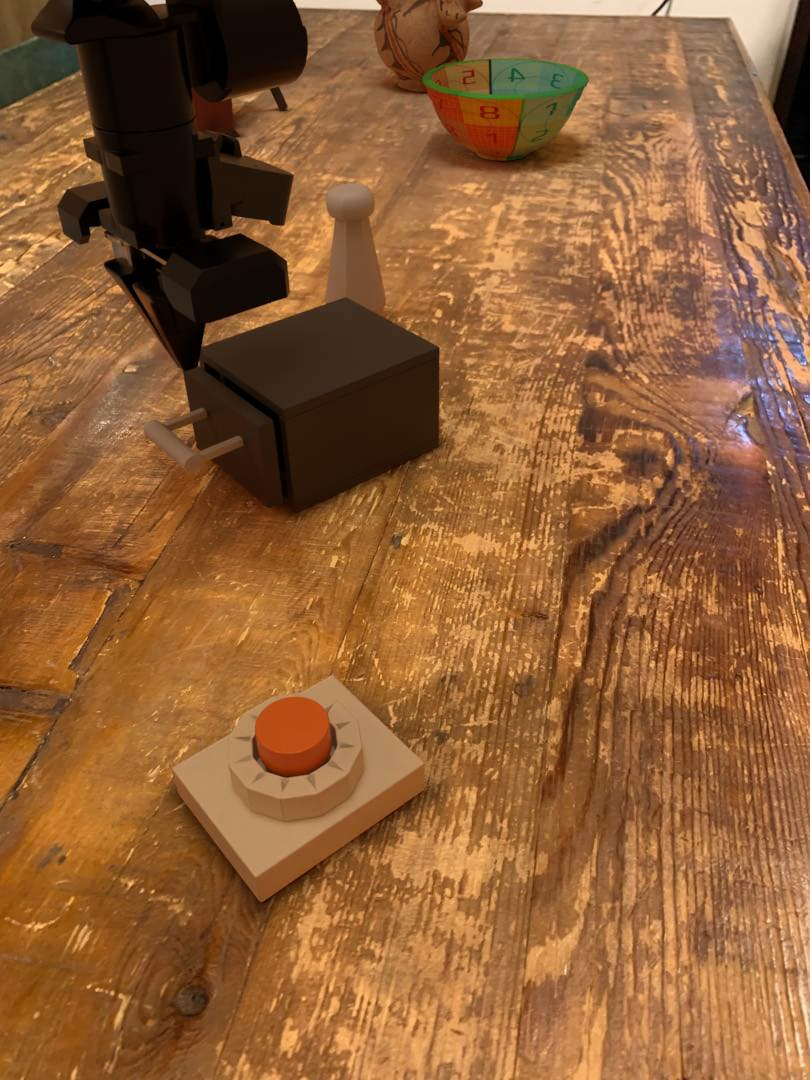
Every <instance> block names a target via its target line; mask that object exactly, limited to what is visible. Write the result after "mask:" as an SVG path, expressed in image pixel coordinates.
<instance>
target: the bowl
mask: <svg viewBox="0 0 810 1080" xmlns="http://www.w3.org/2000/svg"><path fill="white" fill-rule="evenodd" d="M589 80H590V78H589V76H588V75H587V73H585V71H583V70H580V69H578V68H576V67H574V66H571V65H567V64H564V63H559V62H554V61H547V60H542V59H541V60H540V59H530V58H513V57H512V58H505V57H504V58H502V57H501V58H500V57H499V58H482V59H471V60H464V61H462V62H456V63H451V64H447V65H443V66H440V67H437V68H435V69H432V70H430V71H428V72H427V73H426V74H425V75H424V76H423V78H422V81H423V84H424V86H425V87H426V89H427V92H426V93H427V96H428V98H429V100H430V101H431V102H432V106H433V108H434V111H435V113H436V117H437V118H438V120H439V122H440V123H441V125H442V126H443V128H444V129H445V130H446V131H447V133H448V134H449V135H450V136H451V137H452V139H454V140H455V141H456V142H457V143H459V145H461V146H462V147H464V148H466V149H467V150H469V151H470V152H472V153H475V154H476V156H477V157H479V158H482V159H485V160H490V161H501V162H502V161H516V160H520V159H522V158H525V157H526V156H528V154H531V153H532V152H534V151H536V150H538V149H540V148H542V147H543V146H545V145H546V144H547V143H549V142H550V141H552V140H553V138H554V137H556V135H557V134H558V133H560V131H561V130H562V129H563V128H564V126H565V125H566V124H567V122H568V120H569V119H570V118H571V116H572V113H573V111H574V110H575V107H576V106H577V103H578V101H579V100H580V99H581V97H582V95H583V92H584V89H585V88H586V87H587V85H588V83H589Z"/></svg>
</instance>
